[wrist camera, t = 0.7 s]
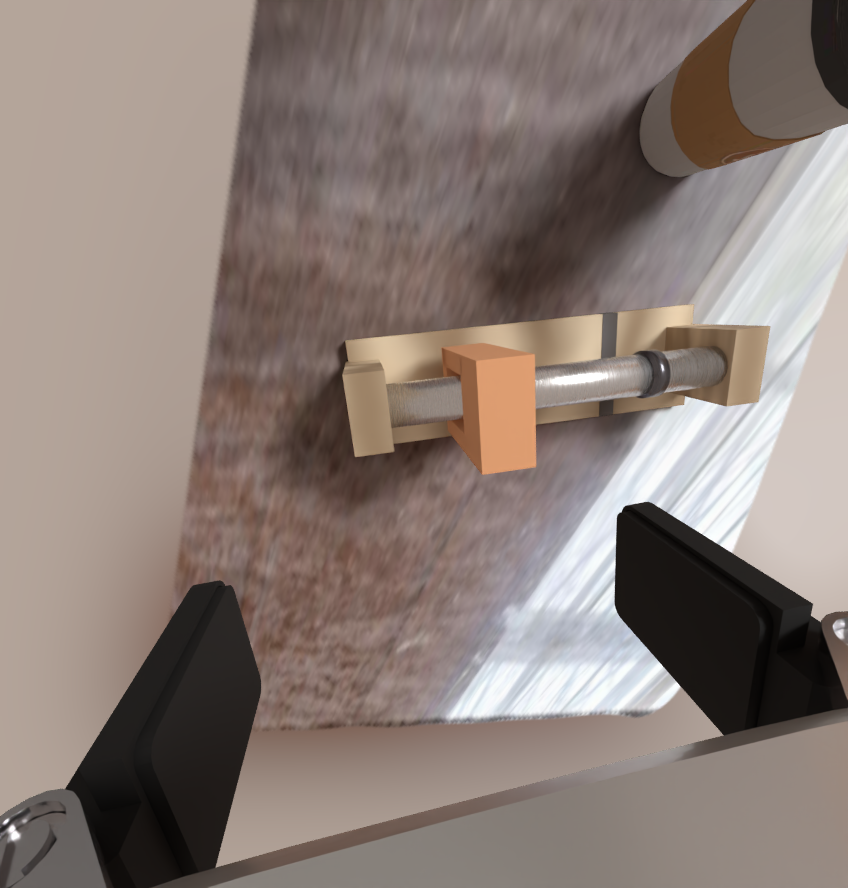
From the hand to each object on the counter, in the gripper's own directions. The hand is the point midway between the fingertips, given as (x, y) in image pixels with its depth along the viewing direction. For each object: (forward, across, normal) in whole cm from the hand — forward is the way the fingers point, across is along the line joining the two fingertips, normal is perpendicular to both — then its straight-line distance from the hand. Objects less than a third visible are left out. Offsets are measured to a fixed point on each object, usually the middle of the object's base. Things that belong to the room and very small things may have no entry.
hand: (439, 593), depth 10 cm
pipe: (+19, -11, -1) cm, 22 cm away
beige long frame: (+23, -11, -1) cm, 26 cm away
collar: (+21, -6, -1) cm, 21 cm away
